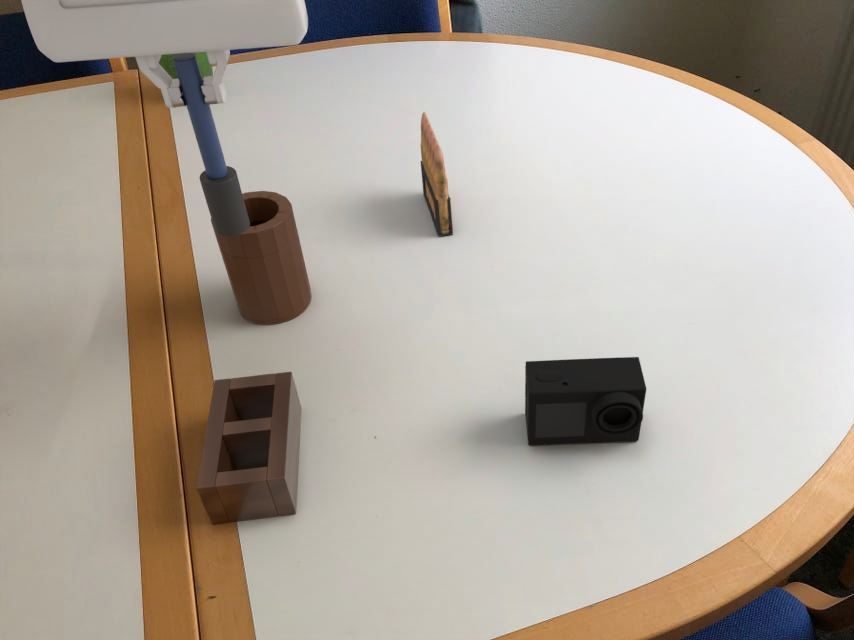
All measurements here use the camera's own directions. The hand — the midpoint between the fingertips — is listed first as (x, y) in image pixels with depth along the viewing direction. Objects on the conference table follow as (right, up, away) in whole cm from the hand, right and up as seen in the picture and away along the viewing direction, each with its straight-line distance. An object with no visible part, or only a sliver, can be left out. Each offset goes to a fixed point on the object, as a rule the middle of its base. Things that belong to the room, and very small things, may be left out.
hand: (197, 102), depth 65 cm
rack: (+3, -31, +8) cm, 32 cm away
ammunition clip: (+18, -2, +38) cm, 42 cm away
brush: (0, -9, +8) cm, 12 cm away
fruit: (-24, +23, +67) cm, 75 cm away
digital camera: (+33, -28, +9) cm, 44 cm away
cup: (0, -15, +25) cm, 29 cm away
